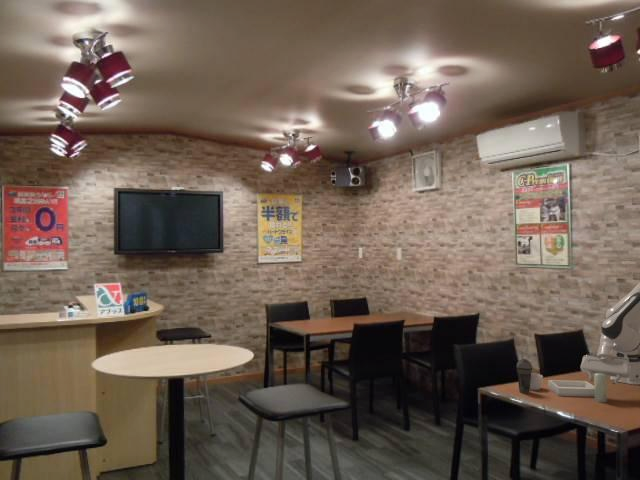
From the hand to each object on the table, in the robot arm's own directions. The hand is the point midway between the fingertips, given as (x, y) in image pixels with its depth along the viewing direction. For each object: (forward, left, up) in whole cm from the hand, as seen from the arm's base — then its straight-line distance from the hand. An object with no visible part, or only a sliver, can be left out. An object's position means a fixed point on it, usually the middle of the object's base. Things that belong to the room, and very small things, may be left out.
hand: (602, 382), depth 247 cm
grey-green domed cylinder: (+1, +1, -8) cm, 8 cm away
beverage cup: (+31, -11, -8) cm, 34 cm away
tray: (+8, -14, -8) cm, 18 cm away
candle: (+25, -19, -9) cm, 33 cm away
